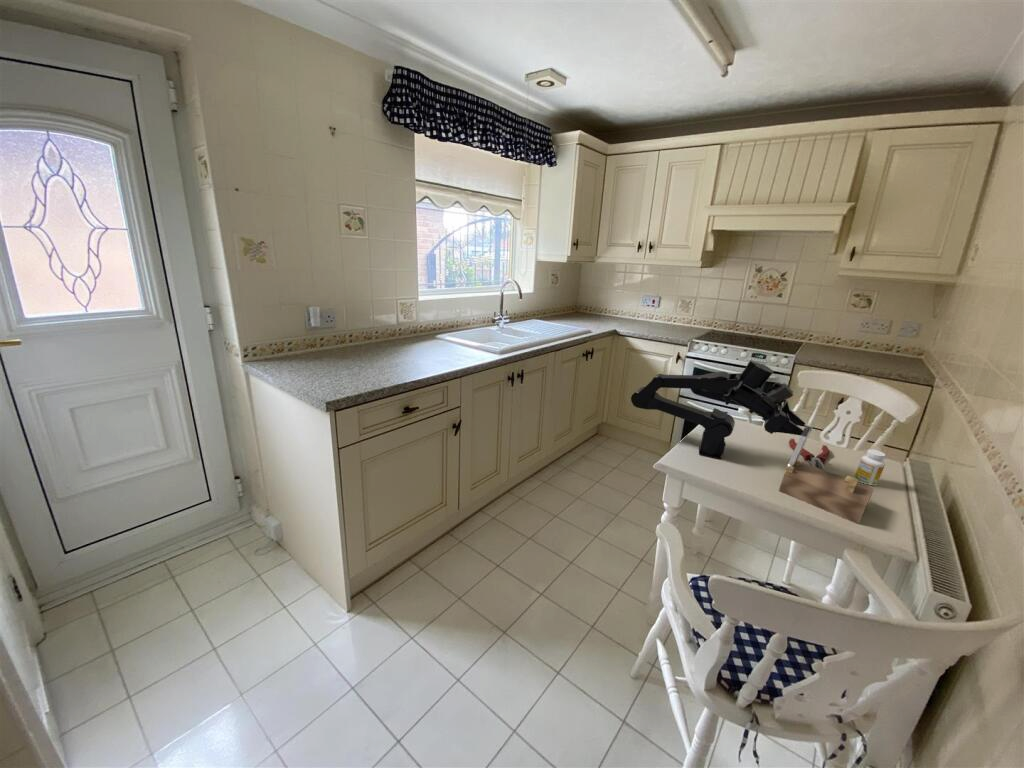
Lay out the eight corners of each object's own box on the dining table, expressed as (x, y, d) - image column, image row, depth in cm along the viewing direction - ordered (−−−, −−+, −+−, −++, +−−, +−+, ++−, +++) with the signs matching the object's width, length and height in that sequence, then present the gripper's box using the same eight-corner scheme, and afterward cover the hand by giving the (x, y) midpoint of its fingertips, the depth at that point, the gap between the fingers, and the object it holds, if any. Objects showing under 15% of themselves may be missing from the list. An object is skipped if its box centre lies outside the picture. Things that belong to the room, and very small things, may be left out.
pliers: (796, 469, 130) (799, 462, 129) (787, 443, 147) (789, 436, 146) (841, 479, 125) (844, 472, 124) (825, 451, 143) (828, 444, 142)
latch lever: (790, 469, 117) (786, 467, 118) (795, 465, 120) (790, 463, 120) (808, 431, 112) (803, 429, 113) (812, 427, 115) (807, 425, 115)
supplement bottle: (872, 478, 126) (883, 450, 123) (880, 488, 121) (892, 458, 118) (851, 474, 128) (861, 446, 124) (858, 483, 123) (869, 454, 119)
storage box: (777, 490, 117) (785, 465, 114) (790, 475, 125) (797, 452, 122) (858, 524, 104) (869, 496, 102) (867, 505, 112) (877, 479, 110)
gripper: (767, 386, 113) (827, 418, 108) (770, 370, 128) (822, 397, 123) (742, 418, 119) (798, 450, 113) (747, 398, 134) (797, 426, 128)
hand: (804, 429), depth 119 cm, fingers open, 7 cm apart
